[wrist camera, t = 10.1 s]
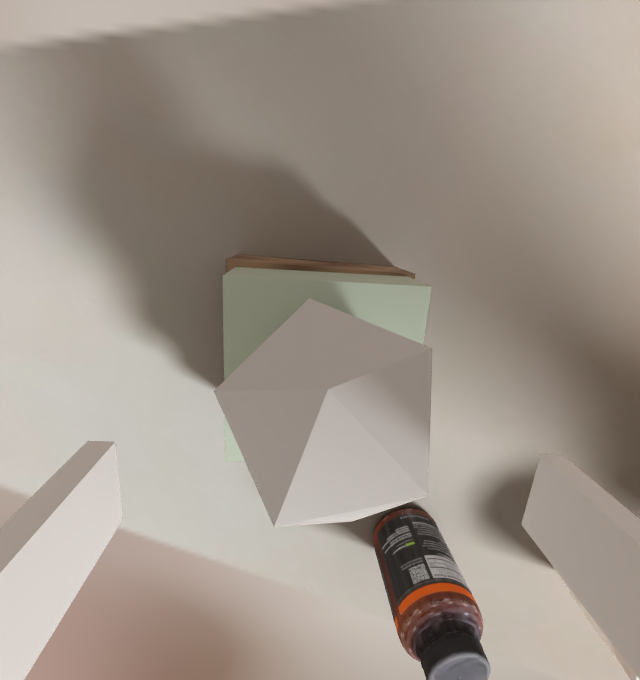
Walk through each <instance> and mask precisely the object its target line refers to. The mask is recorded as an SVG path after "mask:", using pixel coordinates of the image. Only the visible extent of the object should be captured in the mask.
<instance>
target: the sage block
mask: <svg viewBox="0 0 640 680" xmlns="http://www.w3.org/2000/svg"><path fill="white" fill-rule="evenodd" d="M222 286H223V349H224V381H225V380H226V379H227V378H228V377H229V376H230V375H231V374H232V373H233V372H234V371H235V370H236V369H237V368H238V367H239V366H240V365H241V364H242V363H243V362H244V361H245V360H246V359H247V358H248V357H249V356H250V355H251V354H252V353H254V352H255V351H256V350H257V349H258V348H259V347H260V346H261V345H262V344H263V343H264V342H265V341H266V340H267V339H268V338H269V337H270V336H271V335H272V334H273V333H274V332H275V331H276V330H277V329H278V328H279V327H280V326H281V325H282V324H283V323H284V322H285V321H286V320H288V319H289V318H290V317H291V316H292V315H293V314H294V313H295V312H296V311H297V310H298V309H299V308H300V307H301V306H302V305H303V304H304V303H305V302H306V301H307V300H308V299H309V298H310V299H313V300H315V301H317V302H320V303H322V304H325V305H327V306H330V307H332V308H335V309H337V310H340V311H342V312H344V313H347V314H349V315H352V316H354V317H357V318H359V319H362V320H364V321H367V322H369V323H371V324H374V325H376V326H379V327H381V328H384V329H386V330H389V331H391V332H394V333H396V334H398V335H401V336H403V337H406V338H408V339H411V340H413V341H416V342H418V343H421V344H424V337H425V331H426V324H427V317H428V311H429V304H430V298H431V291H432V286H429V285H427V284H424V283H422V282H420V281H417V280H415V279H412V278H410V277H407V276H390V275H372V274H354V273H335V272H317V271H299V270H281V269H263V268H245V267H235V268H233V269H232V270H230V271H229V272H227V273H226V274H224V275H222ZM225 461H227V462H245V460H244V458H243V456H242V453H241V451H240V449H239V447H238V444H237V442H236V440H235V438H234V435H233V433H232V431H231V429H230V426H229V424H228V422H227V420H226V417H225Z"/></svg>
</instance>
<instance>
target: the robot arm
mask: <svg viewBox="0 0 640 680" xmlns="http://www.w3.org/2000/svg"><path fill="white" fill-rule="evenodd" d="M122 520H123V514H122V504H121V494H120V484H119V474H118V464H117V454H116V444H115V442H106V441H87V442H86V443H85V444H84V445H83V446H82V447H81V448H80V449H79V450H78V451H77V452H76V453H75V454H74V455H73V456H72V457H71V458H70V459H69V460H68V461H67V462H66V463H65V464H64V465H63V466H62V467H61V468H60V469H59V470H58V471H57V472H56V473H55V474H54V475H53V476H52V477H51V478H50V479H49V480H48V481H47V482H46V483H45V484H44V485H43V486H42V487H41V488H40V489H39V490H38V491H37V492H36V493H35V494H34V495H33V496H32V497H31V498H30V499H29V500H28V501H27V502H26V503H25V504H24V505H23V506H22V507H21V508H20V509H19V510H18V511H17V512H16V513H15V514H14V515H13V516H12V517H11V518H10V519H9V520H8V521H7V522H6V523H5V524H4V525H3V526H2V527H1V528H0V680H24V679H25V678H26V676H27V674H28V673H29V671H30V669H31V668H32V666H33V665H34V663H35V661H36V660H37V658H38V656H39V655H40V653H41V652H42V650H43V648H44V647H45V645H46V643H47V641H48V640H49V639H50V637H51V635H52V634H53V632H54V630H55V629H56V627H57V625H58V624H59V622H60V621H61V619H62V617H63V616H64V614H65V612H66V611H67V609H68V607H69V606H70V604H71V603H72V601H73V599H74V598H75V596H76V595H77V593H78V591H79V590H80V588H81V586H82V584H83V583H84V581H85V580H86V578H87V577H88V575H89V573H90V572H91V570H92V568H93V567H94V565H95V564H96V562H97V560H98V559H99V557H100V555H101V554H102V552H103V551H104V549H105V547H106V546H107V544H108V542H109V541H110V539H111V538H112V536H113V534H114V533H115V531H116V529H117V528H118V526H119V524H120V523H121V521H122ZM521 525H522V526H523V528H524V529H525V530H526V532H527V533H528V534H529V535H530V537H531V538H532V539H533V541H534V542H535V543H536V545H537V546H538V547H539V549H540V550H541V551H542V552H543V554H544V555H545V556H546V558H547V559H548V560H549V562H550V563H551V564H552V566H553V567H554V568H555V569H556V571H557V572H558V573H559V575H560V576H561V577H562V579H563V580H564V581H565V583H566V584H567V585H568V586H569V588H570V589H571V590H572V592H573V593H574V594H575V596H576V597H577V598H578V600H579V601H580V602H581V603H582V605H583V606H584V607H585V609H586V610H587V611H588V613H589V614H590V615H591V617H592V618H593V619H594V620H595V622H596V623H597V624H598V626H599V627H600V628H601V630H602V631H603V632H604V634H605V635H606V636H607V637H608V639H609V640H610V641H611V643H612V644H613V645H614V647H615V648H616V649H617V651H618V652H619V653H620V654H621V656H622V657H623V658H624V660H625V661H626V662H627V664H628V665H629V666H630V668H631V669H632V670H633V672H634V673H635V674H636V675H637V677H638V678H639V679H640V519H639V518H638V517H637V516H635V515H634V514H633V513H632V512H631V511H629V510H628V509H627V508H626V507H625V506H623V505H622V504H621V503H620V502H619V501H617V500H616V499H615V498H614V497H613V496H611V495H610V494H609V493H608V492H607V491H605V490H604V489H603V488H602V487H601V486H600V485H598V484H597V483H596V482H595V481H594V480H592V479H591V478H590V477H589V476H588V475H586V474H585V473H584V472H583V471H582V470H580V469H579V468H578V467H577V466H576V465H574V464H573V463H572V462H571V461H570V460H569V459H567V458H566V457H565V456H564V455H540V459H539V462H538V466H537V470H536V473H535V477H534V480H533V484H532V488H531V491H530V495H529V498H528V502H527V506H526V509H525V513H524V516H523V520H522V524H521Z"/></svg>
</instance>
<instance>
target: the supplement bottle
mask: <svg viewBox="0 0 640 680" xmlns="http://www.w3.org/2000/svg"><path fill="white" fill-rule="evenodd" d="M373 542H374V547H375V552H376V556H377V559H378V563H379V567H380V570H381V574H382V578H383V581H384V585H385V589H386V592H387V596H388V600H389V603H390V607H391V611H392V615H393V619H394V622H395V625H396V628H397V633H398V636H399V638H400V641H401V643H402V645H403V647H404V648H405V650H406V651H407V653H408V654H409V655H410V656H411V657H413V658H414V659H416V660H418V661H420V662H421V665H422V668H423V670H424V673H425V676H426V680H488V678H489V675H490V665H489V662H488V660H487V657H486V655H485V653H484V651H483V648H482V645H481V643H480V639H481V636H482V632H483V619H482V616H481V613H480V610H479V608H478V606H477V604H476V602H475V600H474V598H473V596H472V593H471V592H470V590H469V588H468V586H467V584H466V582H465V580H464V578H463V576H462V574H461V572H460V570H459V568H458V566H457V564H456V562H455V560H454V558H453V556H452V554H451V552H450V550H449V548H448V546H447V544H446V542H445V540H444V538H443V536H442V534H441V532H440V530H439V529H438V527H437V525H436V523H435V521H434V520H433V518H432V517H431V516H430V515H428V514H427V513H425V512H424V511H421V510H418V509H415V508H404V509H399V510H396V511H393V512H391V513H390V514H388V515H387V516H385V517H384V518H383V519H382V520H381V521H380V522H379V523H378V525H377V527H376V529H375V532H374V536H373Z"/></svg>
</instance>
